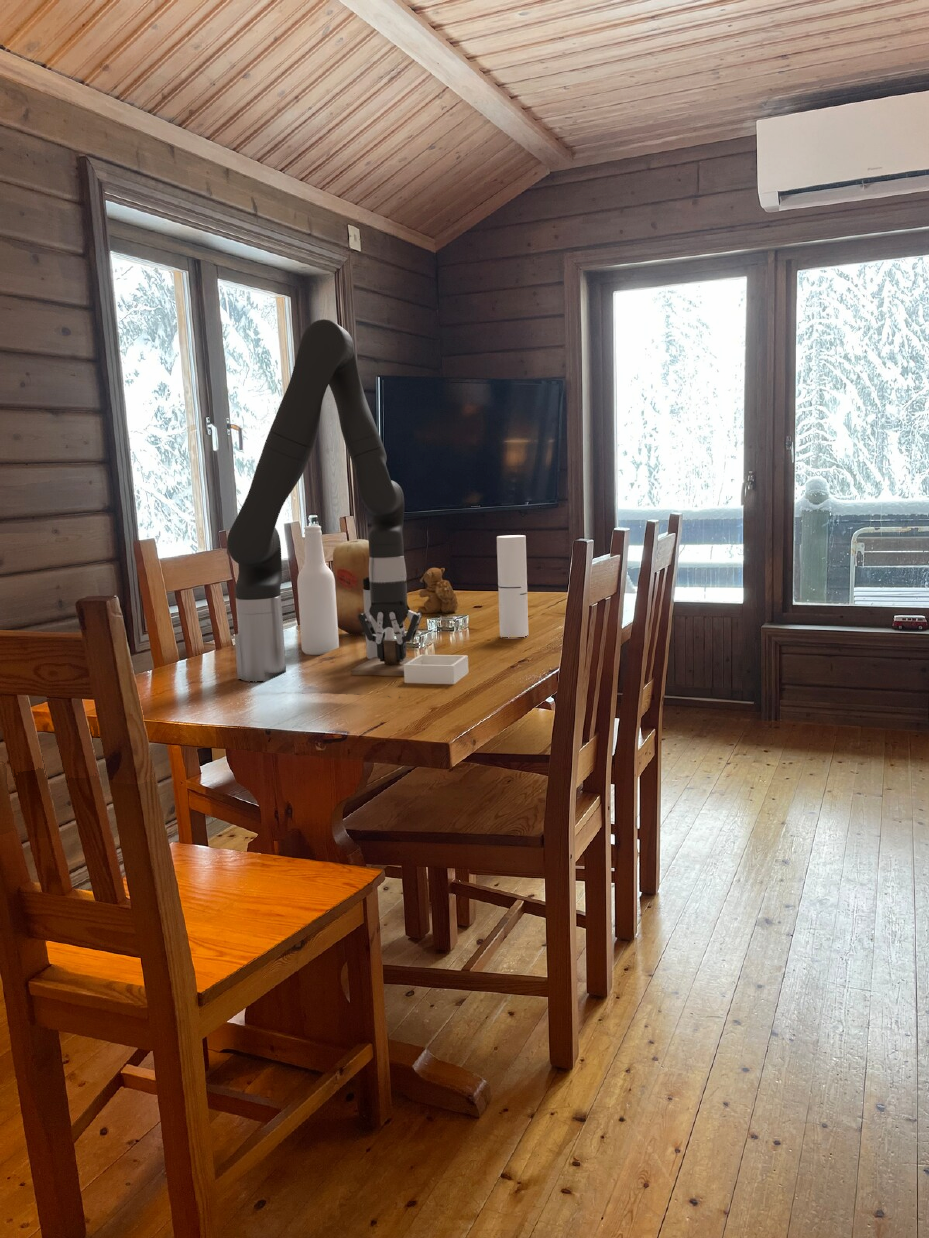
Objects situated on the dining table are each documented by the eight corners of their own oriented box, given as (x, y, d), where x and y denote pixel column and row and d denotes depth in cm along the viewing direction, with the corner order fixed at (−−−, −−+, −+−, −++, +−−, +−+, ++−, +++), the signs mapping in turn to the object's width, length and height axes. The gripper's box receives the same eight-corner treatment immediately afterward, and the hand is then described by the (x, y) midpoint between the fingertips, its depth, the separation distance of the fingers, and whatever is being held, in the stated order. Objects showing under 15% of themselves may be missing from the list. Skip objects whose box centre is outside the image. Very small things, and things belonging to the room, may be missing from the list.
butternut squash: (323, 639, 239) (317, 542, 235) (349, 630, 251) (343, 537, 247) (370, 640, 234) (365, 541, 230) (395, 631, 246) (390, 537, 242)
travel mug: (392, 666, 202) (387, 574, 199) (363, 665, 203) (358, 575, 200) (400, 660, 208) (395, 571, 205) (372, 660, 209) (367, 572, 206)
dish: (405, 690, 179) (403, 664, 178) (421, 678, 189) (420, 654, 188) (454, 691, 176) (453, 665, 176) (468, 679, 186) (467, 655, 185)
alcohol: (295, 652, 222) (286, 527, 217) (326, 646, 228) (318, 524, 223) (314, 656, 216) (306, 527, 211) (346, 651, 221) (338, 525, 217)
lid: (351, 674, 188) (349, 645, 187) (374, 661, 200) (373, 634, 199) (411, 676, 184) (410, 646, 183) (431, 662, 197) (430, 634, 196)
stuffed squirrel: (439, 607, 286) (438, 565, 284) (468, 612, 275) (467, 568, 273) (413, 611, 280) (411, 568, 278) (442, 616, 269) (440, 571, 267)
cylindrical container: (496, 634, 235) (492, 536, 231) (522, 632, 237) (519, 534, 233) (505, 639, 228) (502, 538, 224) (532, 636, 230) (529, 536, 226)
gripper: (348, 580, 188) (353, 664, 190) (414, 580, 184) (418, 665, 186) (362, 576, 195) (367, 656, 197) (426, 576, 191) (430, 658, 194)
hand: (392, 660), depth 192 cm, fingers closed on lid, 3 cm apart
